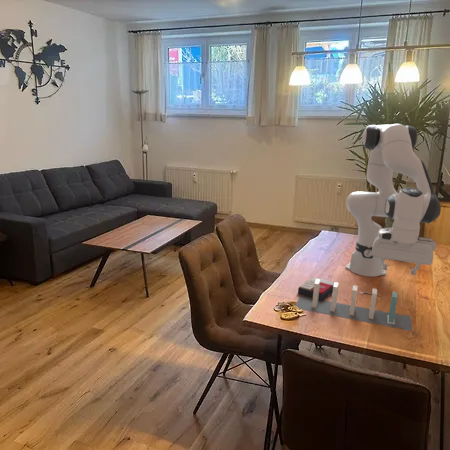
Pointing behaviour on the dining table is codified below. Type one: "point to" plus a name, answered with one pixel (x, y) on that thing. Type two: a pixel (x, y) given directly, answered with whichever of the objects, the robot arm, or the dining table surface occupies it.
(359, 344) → the dining table surface
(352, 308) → the domino
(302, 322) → the dining table surface
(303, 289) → the calculator
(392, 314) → the domino
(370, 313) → the domino
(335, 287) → the domino
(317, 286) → the domino
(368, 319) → the domino mat
